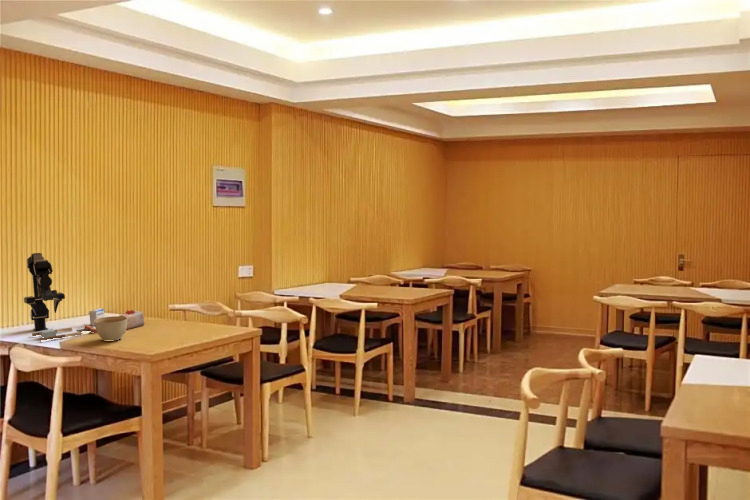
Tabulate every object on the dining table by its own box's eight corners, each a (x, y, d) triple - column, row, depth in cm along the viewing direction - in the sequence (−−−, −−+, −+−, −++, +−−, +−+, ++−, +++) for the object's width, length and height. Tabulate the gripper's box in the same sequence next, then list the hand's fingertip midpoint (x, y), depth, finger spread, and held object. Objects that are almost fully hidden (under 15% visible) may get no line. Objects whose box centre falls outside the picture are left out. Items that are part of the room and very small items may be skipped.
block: (41, 338, 371) (40, 330, 371) (53, 336, 375) (52, 328, 375) (44, 340, 367) (43, 332, 366) (56, 338, 371) (55, 330, 370)
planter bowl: (109, 345, 351) (107, 324, 350) (88, 341, 360) (87, 321, 359) (135, 338, 365) (134, 317, 364) (115, 335, 373) (113, 314, 372)
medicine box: (97, 326, 396) (96, 311, 395) (90, 326, 397) (89, 310, 396) (105, 323, 404) (104, 308, 403) (98, 322, 405) (97, 308, 404)
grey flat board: (32, 336, 374) (32, 333, 373) (87, 328, 392) (87, 324, 391) (40, 342, 361) (40, 338, 360) (97, 333, 379) (97, 329, 378)
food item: (125, 330, 383) (124, 313, 382) (116, 329, 387) (114, 311, 386) (145, 325, 394) (144, 308, 393) (136, 324, 398) (135, 307, 397)
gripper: (28, 289, 352) (31, 319, 354) (67, 284, 364) (69, 313, 366) (22, 286, 361) (25, 316, 363) (60, 281, 373) (62, 310, 375)
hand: (45, 314), depth 366 cm, fingers open, 9 cm apart
